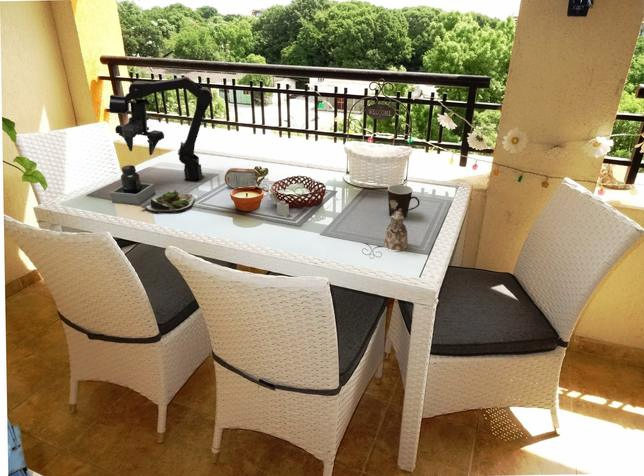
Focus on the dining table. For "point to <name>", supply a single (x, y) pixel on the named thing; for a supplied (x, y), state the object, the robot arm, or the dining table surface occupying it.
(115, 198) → the square tray
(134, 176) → the supplement bottle
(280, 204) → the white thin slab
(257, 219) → the dining table surface
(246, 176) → the tin
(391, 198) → the coffee mug
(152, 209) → the salad plate
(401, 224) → the figurine
